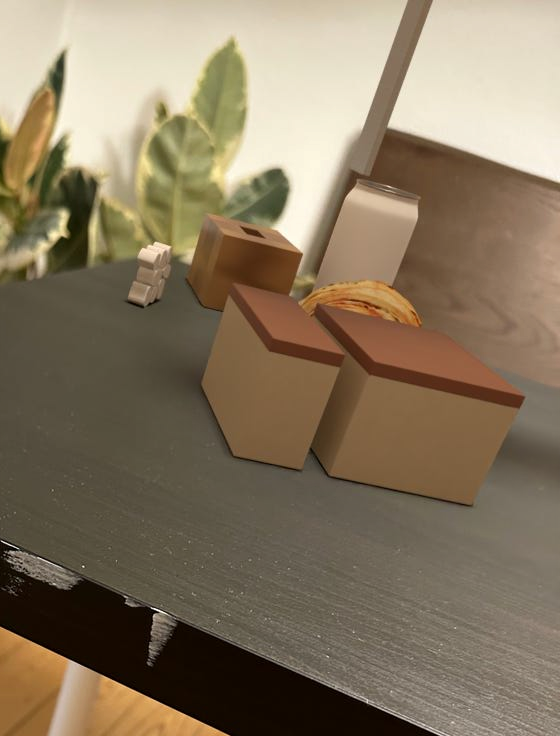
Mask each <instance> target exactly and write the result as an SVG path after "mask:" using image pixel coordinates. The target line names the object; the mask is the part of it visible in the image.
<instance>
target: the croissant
mask: <svg viewBox="0 0 560 736" xmlns="http://www.w3.org/2000/svg"><path fill="white" fill-rule="evenodd" d="M297 302H298V304H299V305H300V306H301V307H302V308H303V309H304V310H305V311H306V312H307V313H308V314H309V316H310V317H311V318H312V316H313V313H314V310H315V308H316V305H317V303H321V304H325V305H329V306H333V307H337V308H342V309H346V310H350V311H354V312H358V313H362V314H367V315H371V316H375V317H379V318H383V319H387V320H392V321H396V322H400V323H404V324H408V325H412V326H417V327H421V328H423V326H422V324H423V323H422V322H421V320H420V317H419V315H418V313H417V311H416V309H415V308H414V306H413V305H412V304H411V302H410V301H409V300H408V299H407V298H405V297H403V295H401V293H399V292H398V291H396V288H395V287H394V286H392V287H391V286H388V285H387V284H385V283H383V282H380V281H370V280H364V279H363V280H360V281H357V282H348V281H344V282H340V283H336V284H329V285H327V286H325V287H322V288H320V289H318V290H316V291H314V292H313V293H312V292H311V293H310V294H309V295H308V296H306V297H304V298H303V299H301V300H299V301H297Z"/></svg>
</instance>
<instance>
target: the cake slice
mask: <svg viewBox="0 0 560 736" xmlns="http://www.w3.org/2000/svg"><path fill="white" fill-rule="evenodd" d="M298 302H299V301H297V300H296V299H295V298H294V297H293V296H290V295H289V296H287V295H283V294H279V293H275V292H270V291H266V290H262V289H258V288H254V287H249V286H245V285H241V284H237V283H232V285H231V288H230V292H229V295H228V298H227V301H226V305H225V308H224V311H222V315H221V319H220V322H219V324H218V328H217V331H216V334H215V337H214V341H213V344H212V347H211V351H210V353H209V357H208V361H207V364H206V368H205V370H204V373H203V376H202V380H201V383H200V386H201V388H202V390H203V392H204V395H205V397H206V399H207V401H208V403H209V405H210V407H211V410H212V412H213V414H214V416H215V418H216V420H217V423H218V425H219V427H220V429H221V431H222V434H223V436H224V438H225V440H226V442H227V444H228V447H229V449H230V451H231V453H232V456H233V457H237V458H242V459H245V460H250V461H256V462H261V463H266V464H271V465H275V466H279V467H284V468H289V469H294V470H298V471H302V469H303V467H304V464H305V462H306V459H307V456H308V454H309V451H310V448H311V447H310V446H311V443H312V441H313V438H314V436H315V433H316V430H317V428H318V425H319V422H320V420H321V417H322V415H323V412H324V409H325V407H326V404H327V402H328V399H329V396H330V394H331V391H332V388H333V386H334V383H335V381H336V378H337V375H338V373H339V370H340V368H341V365H342V362H343V360H344V357H345V354H344V353H343V352H342V350H341V349H340V348H339V347H338V346H337V345H336V344H335V343H334V342H333V341H332V340H331V338H330V337H329V336H328V335H327V334H326V333H325V332H324V331H323V330H322V329H321V328H320V326H319V325H318V324H317V323H316V322H315V321H314V320H313V319H312V318H311V317H310V316H309V314H308V313H307V312H306V311H305V310H304V309H303V308H302V307H301V306H300V305H299V304H298Z"/></svg>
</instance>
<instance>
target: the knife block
mask: <svg viewBox="0 0 560 736" xmlns="http://www.w3.org/2000/svg"><path fill="white" fill-rule="evenodd" d="M192 256H193V257H192V260H191V264H190V267H189V270H188V274H187V278H186V280H187V282H188V284H189V285H190V287H191V289H192V290H193V292H194V294H195V296H196V298H197V299H198V301H199V302H200V304H201V305H202V307H203V308H207V309H211V310H216V311H220V312H223V311H224V308H225V305H226V301H227V298H228V295H229V292H230V288H231V285H232V283H237V284H241V285H245V286H249V287H254V288H258V289H262V290H266V291H270V292H275V293H279V294H283V295H287V296H290V294H291V292H292V288H293V285H294V283H295V279H296V277H297V274H298V271H299V268H300V265H301V262H302V259H303V256H304V252H302V251H301V250H300V249H299V248H298V247H296V245H294V244H293V242H291V241H290V240H289V239H287V237H285V235H283V234H282V233H281V232H280V231H279V230H278V229H277V230H276V229H272V228H270V227H265V226H260V225H258V224H257V225H256V224H253V223H249V222H246V221H241V220H237V219H233V218H229V217H225V216H221V215H217V214H213V213H209V212H205V214H204V217H203V221H202V224H201V229H200V231H199V235H198V238H197V242H196V246H195V250H194V253H193V255H192Z"/></svg>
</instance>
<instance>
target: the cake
mask: <svg viewBox="0 0 560 736" xmlns="http://www.w3.org/2000/svg"><path fill="white" fill-rule="evenodd" d="M312 319H313V320H314V321H315V322H316V323H317V324H318V325H319V326H320V328H321V329H322V330H323V331H324V332H325V333H326V334H327V335H328V336H329V337H330V338H331V340H332V341H333V342H334V343H335V344H336V345H337V346H338V347H339V348H340V349H341V350H342V352H343V353H344V354H345V357H344V360H343V362H342V365H341V368H340V370H339V373H338V375H337V378H336V381H335V383H334V386H333V388H332V391H331V394H330V396H329V399H328V402H327V404H326V407H325V409H324V412H323V415H322V417H321V420H320V422H319V425H318V428H317V430H316V433H315V436H314V438H313V441H312V443H311V446H310V448H311V450H312V451H313V454H314V455H315V457H316V458H317V459H318V461H319V462H320V464H321V466H322V467H323V469H324V470H325V472H326V473H327V476H329V477H332V478H337V479H342V480H346V481H347V480H348V481H352V482H356V483H361V484H366V485H370V486H376V487H380V488H386V489H390V490H394V491H399V492H403V493H408V494H414V495H418V496H424V497H428V498H432V499H433V498H434V499H438V500H443V501H447V502H453V503H457V504H463V505H466V506H472V505H473V503H474V501H475V500H476V497H477V496H478V493H479V491H480V489H481V487H482V485H483V483H484V481H485V480H486V477H487V475H488V473H489V471H490V469H491V467H492V465H493V464H494V461H495V460H496V456H497V455H498V453H499V451H500V449H501V447H502V445H503V443H504V441H505V439H506V436H507V435H508V433H509V430H510V429H511V427H512V424H513V423H514V420H515V418H516V417H517V414H518V412H519V411H520V409H521V407H522V405H523V403H524V401H525V399H526V395H525V394H523V393H522V392H521V391H520V390H518V389H517V388H516V387H515V386H513V385H512V384H511V383H510V382H508V381H507V380H506V379H504V378H503V377H502V376H500V375H499V374H498V373H496V372H495V371H494V370H492V368H490V367H489V366H487V365H486V364H485V363H484V362H482V361H481V360H480V359H479V358H477V357H476V356H475V355H474V354H472V353H471V352H470V351H468V350H467V349H466V348H464V347H463V346H462V345H461V344H459V343H458V342H457V341H456V340H454V339H453V338H452V337H451V336H449V335H448V334H446V332H441V331H438V330H434V329H433V330H432V329H430V328H429V329H428V328H424V327H422V326H421V327H422V328H421V327H417V326H412V325H408V324H404V323H400V322H396V321H392V320H387V319H383V318H379V317H375V316H371V315H367V314H362V313H358V312H354V311H350V310H346V309H342V308H337V307H333V306H329V305H325V304H321V303H317V305H316V308H315V310H314V313H313V316H312Z"/></svg>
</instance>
